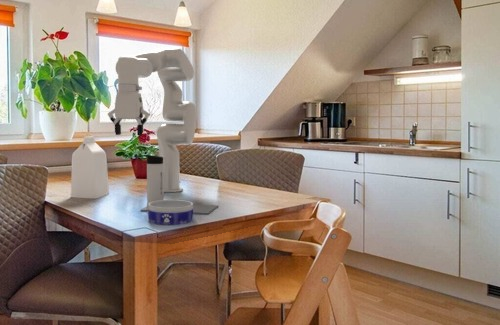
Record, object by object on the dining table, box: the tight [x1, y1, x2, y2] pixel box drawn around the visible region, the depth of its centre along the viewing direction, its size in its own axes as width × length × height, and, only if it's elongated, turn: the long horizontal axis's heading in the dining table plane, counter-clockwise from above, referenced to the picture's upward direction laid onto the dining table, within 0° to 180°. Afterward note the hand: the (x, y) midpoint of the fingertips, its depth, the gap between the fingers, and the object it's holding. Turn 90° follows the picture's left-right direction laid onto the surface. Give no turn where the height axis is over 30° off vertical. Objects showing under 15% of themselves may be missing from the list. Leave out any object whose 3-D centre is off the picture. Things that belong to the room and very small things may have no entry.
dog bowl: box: [147, 199, 194, 226], centre depth 163 cm, size 15×15×6 cm
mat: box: [140, 203, 219, 215], centre depth 182 cm, size 15×26×1 cm, turn 80°
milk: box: [70, 135, 110, 199], centre depth 208 cm, size 12×12×26 cm
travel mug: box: [145, 154, 165, 207], centre depth 183 cm, size 6×7×20 cm
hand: (129, 134), depth 183 cm, fingers open, 8 cm apart
